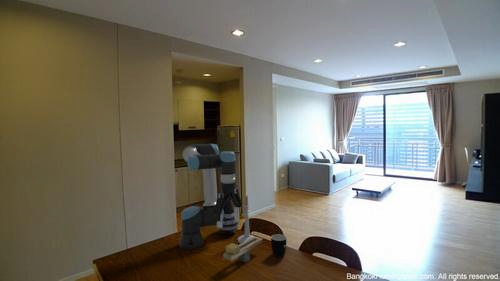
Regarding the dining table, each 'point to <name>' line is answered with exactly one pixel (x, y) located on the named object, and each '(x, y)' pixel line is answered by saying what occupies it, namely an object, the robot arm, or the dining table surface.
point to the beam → (244, 250)
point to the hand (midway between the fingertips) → (228, 223)
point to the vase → (229, 219)
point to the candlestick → (247, 232)
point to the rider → (232, 248)
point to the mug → (278, 245)
